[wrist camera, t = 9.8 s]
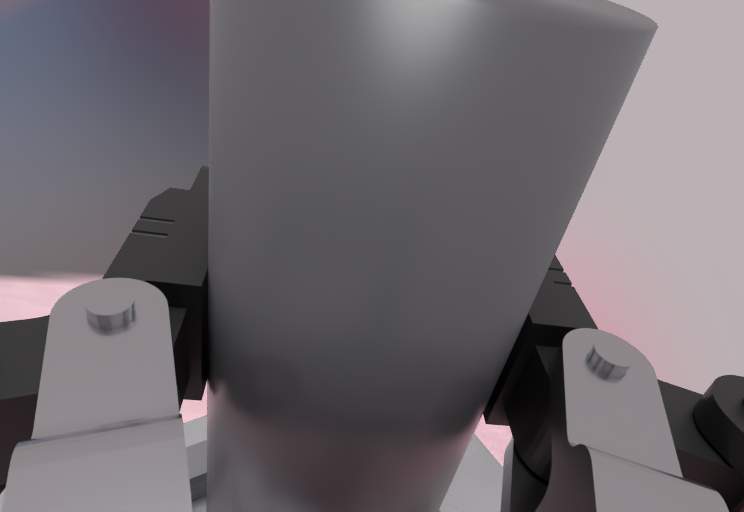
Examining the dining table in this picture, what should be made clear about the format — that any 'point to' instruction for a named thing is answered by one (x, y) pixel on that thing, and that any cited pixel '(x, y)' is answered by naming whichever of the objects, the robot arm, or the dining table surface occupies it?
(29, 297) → the dining table surface
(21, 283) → the dining table surface
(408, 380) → the grey peg
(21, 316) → the dining table surface
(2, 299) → the dining table surface
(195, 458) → the grey peg base plate
